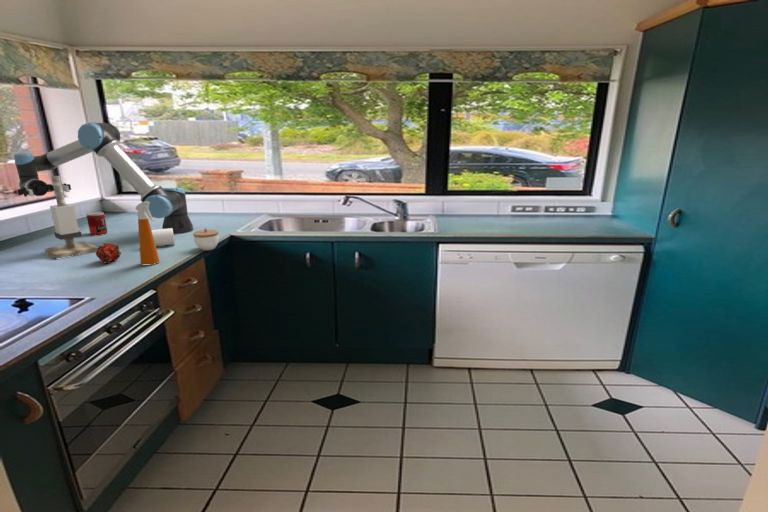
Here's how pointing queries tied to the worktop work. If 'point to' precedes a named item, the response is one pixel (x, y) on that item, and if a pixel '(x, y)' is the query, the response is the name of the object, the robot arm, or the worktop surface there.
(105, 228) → the canned food
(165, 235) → the mug
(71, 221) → the sleeve
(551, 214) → the worktop surface
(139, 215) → the spray bottle
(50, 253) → the pipe stand
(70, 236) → the thin dark grey plate
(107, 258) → the dragon fruit
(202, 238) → the lidded jar
